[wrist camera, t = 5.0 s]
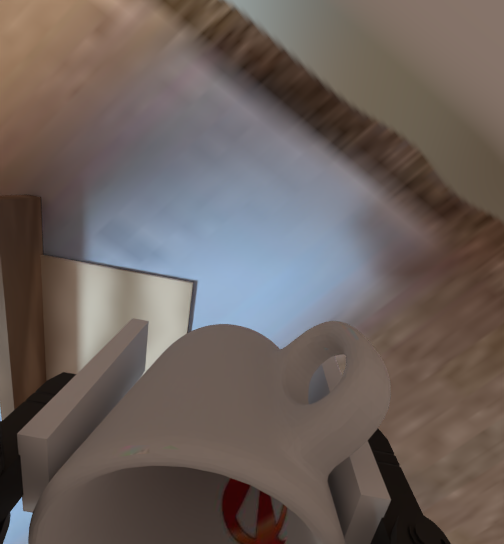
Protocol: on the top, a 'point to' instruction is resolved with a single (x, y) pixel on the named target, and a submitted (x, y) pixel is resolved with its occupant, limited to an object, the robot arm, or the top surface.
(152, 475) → the cup
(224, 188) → the top surface
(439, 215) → the top surface
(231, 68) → the top surface
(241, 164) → the top surface
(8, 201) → the wooden corner frame
